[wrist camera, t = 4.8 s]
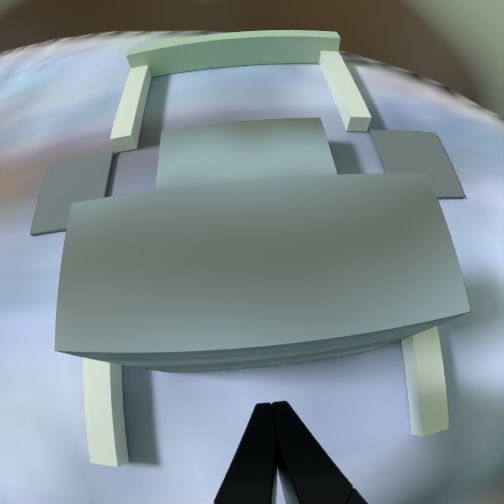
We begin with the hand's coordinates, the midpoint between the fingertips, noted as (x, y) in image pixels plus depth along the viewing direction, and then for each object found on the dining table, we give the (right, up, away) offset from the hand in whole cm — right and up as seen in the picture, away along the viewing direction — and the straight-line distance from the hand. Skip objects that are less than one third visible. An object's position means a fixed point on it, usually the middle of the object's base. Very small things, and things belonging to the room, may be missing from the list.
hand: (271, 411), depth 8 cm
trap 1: (+11, +11, +12) cm, 20 cm away
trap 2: (-13, +8, +12) cm, 20 cm away
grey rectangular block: (-1, +5, +10) cm, 11 cm away
